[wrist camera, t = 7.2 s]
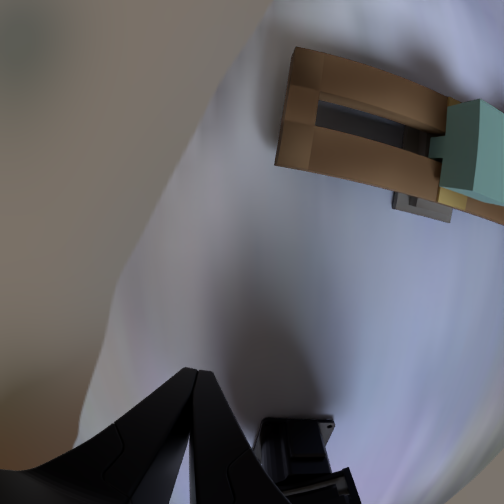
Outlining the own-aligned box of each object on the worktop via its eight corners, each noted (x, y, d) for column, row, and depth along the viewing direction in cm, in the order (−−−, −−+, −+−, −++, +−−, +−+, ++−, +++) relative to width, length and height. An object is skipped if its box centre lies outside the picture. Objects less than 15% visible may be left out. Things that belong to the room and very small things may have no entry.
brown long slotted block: (509, 241, 20) (557, 259, 14) (269, 183, 19) (280, 187, 13) (522, 145, 18) (571, 146, 12) (290, 51, 17) (308, 5, 10)
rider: (464, 198, 17) (515, 208, 12) (421, 184, 17) (472, 190, 12) (472, 130, 16) (522, 126, 11) (430, 111, 16) (480, 98, 11)
